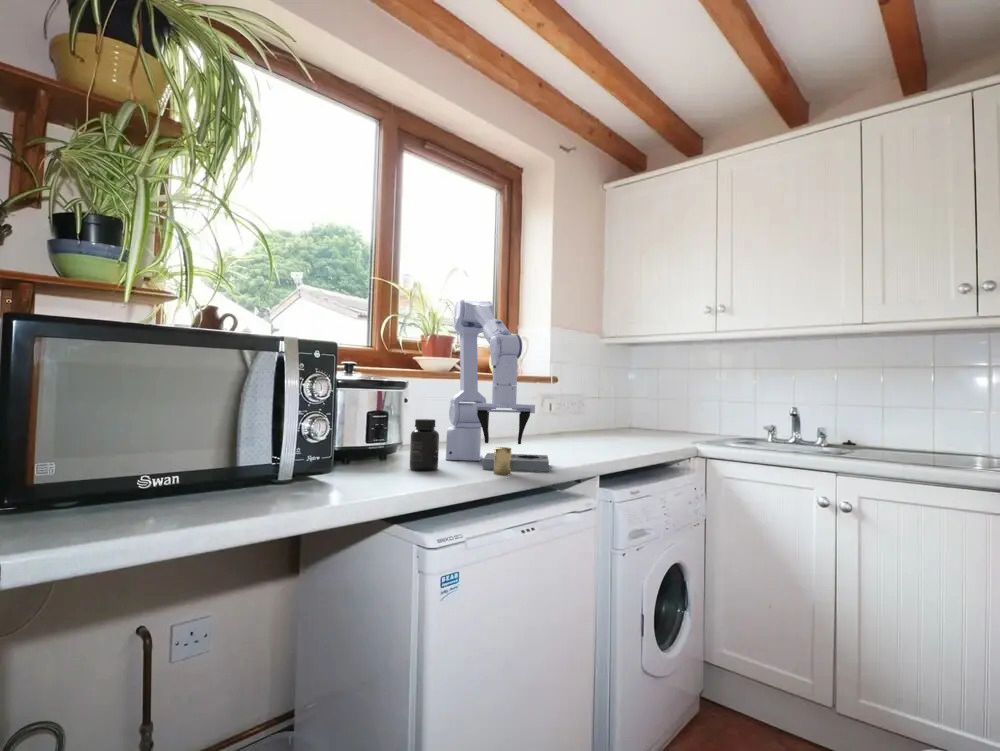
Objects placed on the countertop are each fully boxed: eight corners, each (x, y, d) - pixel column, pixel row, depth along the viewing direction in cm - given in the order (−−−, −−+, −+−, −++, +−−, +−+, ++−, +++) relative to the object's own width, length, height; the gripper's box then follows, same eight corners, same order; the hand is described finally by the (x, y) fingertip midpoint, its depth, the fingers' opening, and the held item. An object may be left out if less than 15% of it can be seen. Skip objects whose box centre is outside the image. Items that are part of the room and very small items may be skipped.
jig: (482, 469, 128) (483, 459, 128) (487, 462, 140) (487, 453, 140) (548, 471, 127) (548, 461, 127) (547, 464, 139) (547, 455, 139)
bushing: (492, 474, 121) (493, 448, 121) (494, 472, 125) (494, 446, 125) (510, 475, 121) (511, 449, 121) (510, 472, 125) (511, 447, 125)
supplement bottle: (442, 470, 125) (444, 420, 125) (415, 472, 121) (417, 420, 121) (431, 466, 131) (433, 418, 131) (405, 467, 127) (406, 418, 127)
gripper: (472, 384, 120) (470, 444, 119) (535, 386, 119) (534, 446, 118) (475, 384, 127) (473, 440, 126) (535, 386, 126) (533, 443, 125)
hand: (503, 443), depth 123 cm, fingers open, 7 cm apart
